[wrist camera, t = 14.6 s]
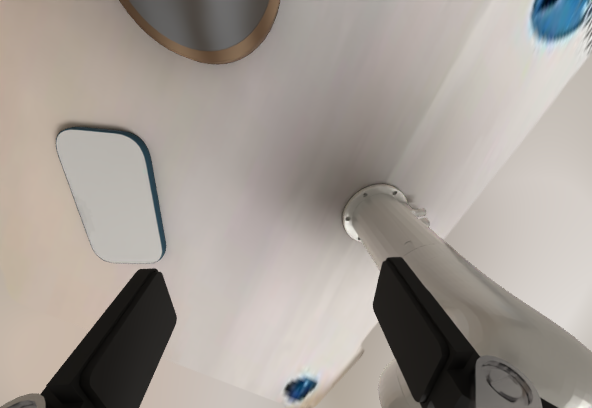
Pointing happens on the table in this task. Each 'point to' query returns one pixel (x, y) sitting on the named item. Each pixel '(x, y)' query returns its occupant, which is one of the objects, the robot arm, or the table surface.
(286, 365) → the table surface
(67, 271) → the table surface
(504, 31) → the table surface
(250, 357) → the table surface
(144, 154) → the external hard drive
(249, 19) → the walnut stand
